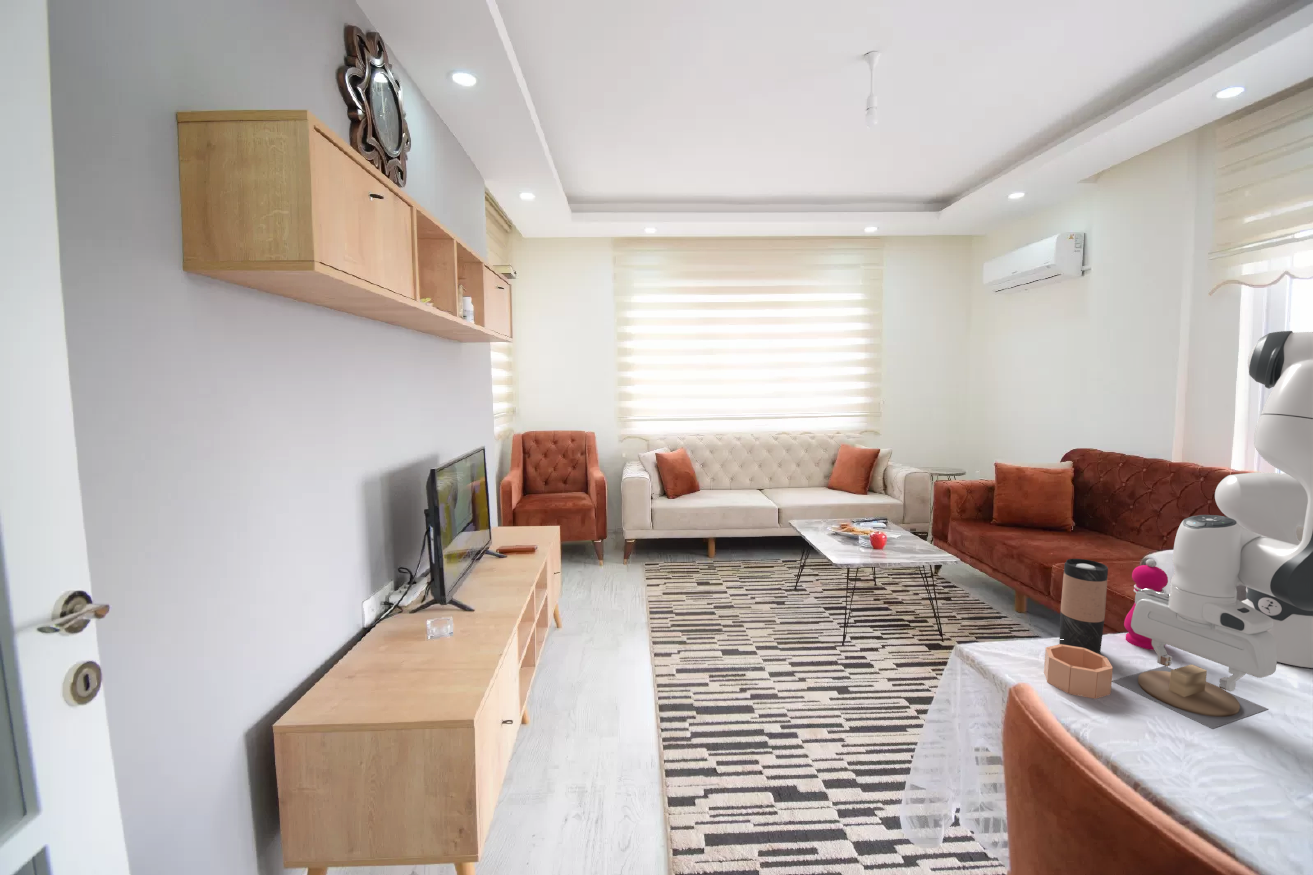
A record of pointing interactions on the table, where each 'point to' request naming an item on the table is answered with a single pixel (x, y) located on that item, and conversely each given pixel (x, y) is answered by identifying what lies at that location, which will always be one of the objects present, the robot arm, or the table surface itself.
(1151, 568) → the pepper mill
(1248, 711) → the mat
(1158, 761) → the table surface
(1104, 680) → the bowl
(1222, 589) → the robot arm
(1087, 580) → the travel mug
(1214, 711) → the lid
